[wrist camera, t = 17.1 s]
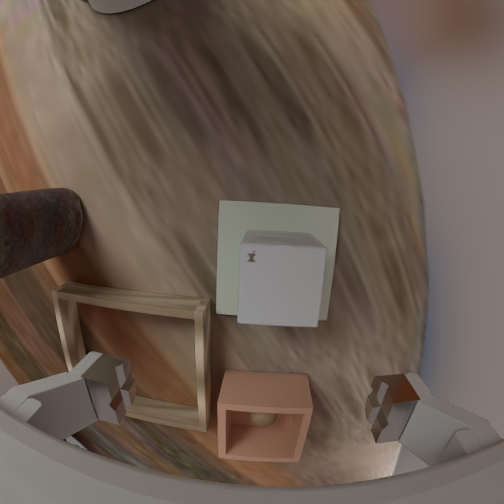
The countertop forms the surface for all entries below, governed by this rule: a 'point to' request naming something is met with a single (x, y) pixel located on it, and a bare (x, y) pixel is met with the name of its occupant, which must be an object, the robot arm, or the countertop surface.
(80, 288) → the crate
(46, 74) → the countertop surface
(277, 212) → the plate
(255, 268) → the product box
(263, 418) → the cork ball
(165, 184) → the countertop surface
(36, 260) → the grey brown tall cylinder
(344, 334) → the countertop surface
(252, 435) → the pot
